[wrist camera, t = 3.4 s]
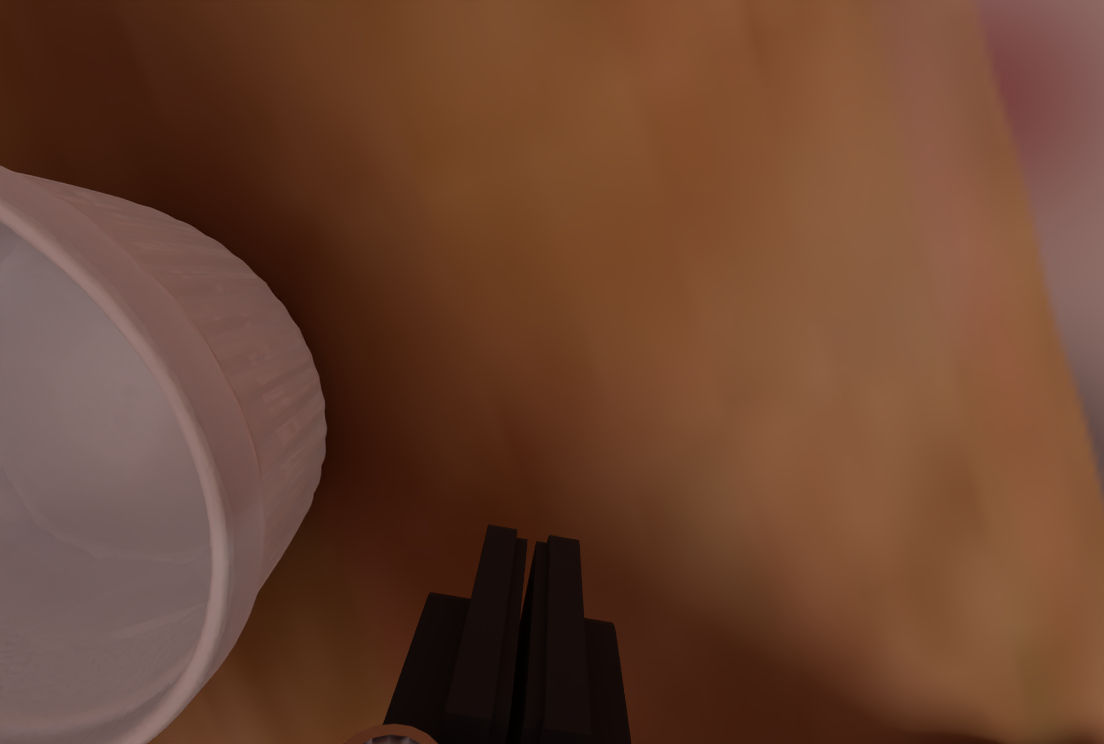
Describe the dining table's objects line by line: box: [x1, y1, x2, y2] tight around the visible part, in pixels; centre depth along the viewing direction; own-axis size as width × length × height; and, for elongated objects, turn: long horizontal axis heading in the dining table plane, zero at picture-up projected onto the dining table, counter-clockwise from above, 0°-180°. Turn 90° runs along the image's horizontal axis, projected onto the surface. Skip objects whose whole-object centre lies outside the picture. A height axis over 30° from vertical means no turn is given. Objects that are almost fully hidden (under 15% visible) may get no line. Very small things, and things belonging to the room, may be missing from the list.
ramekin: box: [0, 166, 327, 744], centre depth 13 cm, size 13×13×7 cm
